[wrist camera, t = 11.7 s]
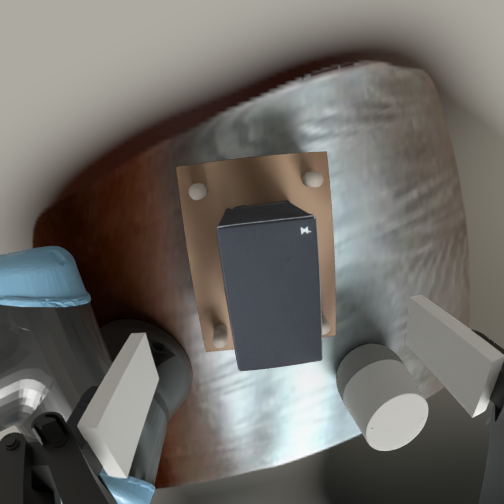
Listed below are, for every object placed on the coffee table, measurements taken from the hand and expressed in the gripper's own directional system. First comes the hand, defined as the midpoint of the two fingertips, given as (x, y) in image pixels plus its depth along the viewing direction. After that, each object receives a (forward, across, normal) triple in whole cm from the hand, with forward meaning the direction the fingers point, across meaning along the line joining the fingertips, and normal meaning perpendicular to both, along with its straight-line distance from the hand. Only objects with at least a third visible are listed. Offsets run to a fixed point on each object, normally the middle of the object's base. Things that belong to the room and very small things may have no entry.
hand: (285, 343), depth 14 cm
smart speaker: (+22, +13, -19) cm, 32 cm away
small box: (+16, 0, 0) cm, 16 cm away
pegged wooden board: (+22, 0, 0) cm, 22 cm away
